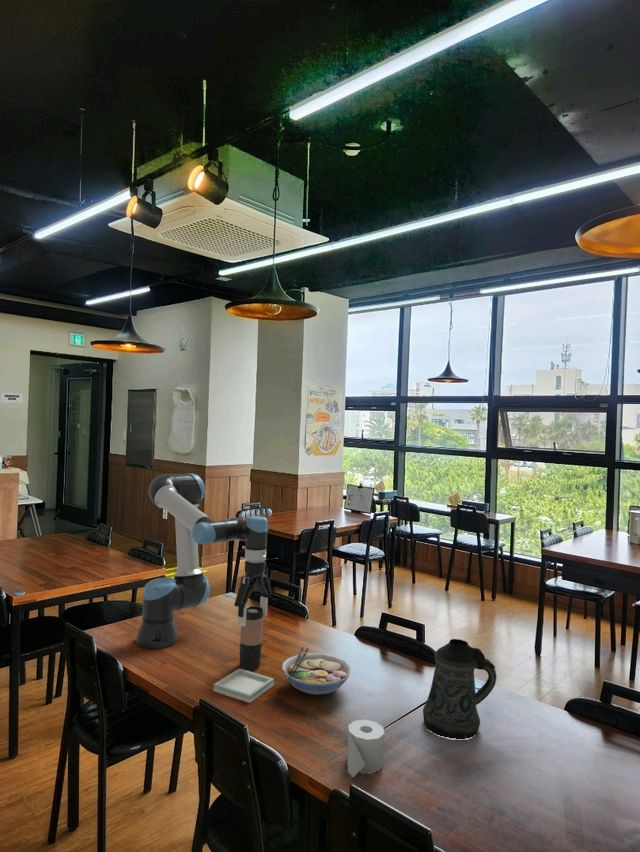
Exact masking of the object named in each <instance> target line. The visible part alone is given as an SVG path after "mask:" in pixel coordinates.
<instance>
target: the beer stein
mask: <svg viewBox="0 0 640 852" xmlns="http://www.w3.org/2000/svg"><path fill="white" fill-rule="evenodd" d="M434 660H435V668H434V672H433V676H432V682H431V685H430V690H429V693H428V696H427V700H426V702H425V703H424V706H423V709H422V714H423V715H422V716H423V724H424V726H426V727H425V729H426V728H427V729H428V730H430V731H432V732H433V733H435V734H437V735H440V736H444V737H449V738H456V739H465V738H470V737H473V736H474V735H476V734H477V735H478V733H479V729H480V726H481V719H480V716H479V713H478V708H477V705H479V704H480V703H482V702H483V701H484V700H485V699H486V698H487V697H488V696H489V695H490V694H491V693H492V691H493V690H494V688H495V685H496V682H497V672H496V666H495V664H493V662H491V660H489V659H488V658H486V657H485V654H484V652H483V651H482V649H480V648H477V647H472V646H471V645H469V642H467V641H466V640H463V639H459V638H452V639H450V640H449V641H448V643H446V644H445V645H442V646H441V647H440V648H438V649H437V650H436V651H435V652H434ZM475 669H476V670H479V671H480V670H482V671H483V670H484V672H486V673H487V675H488V677H487V679H486V681H485V682H484V684H483V685H482V686H481V687H480V688H479V689H478V690H477V691H476V683H475V682H476V681H475ZM427 729H426V730H427ZM428 730H427V731H428ZM430 731H429V732H430ZM477 732H478V733H477ZM433 733H432V734H433Z"/></svg>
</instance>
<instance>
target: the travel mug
mask: <svg viewBox="0 0 640 852" xmlns="http://www.w3.org/2000/svg"><path fill="white" fill-rule="evenodd" d="M263 623H264V615H263V609H262V608H260V606H254V605H251V606H248V607H246V626H245V627H243V626H240V627H241V628H240V642H239V667H240V669H243V670H247V671H253V670H257V669H259V668H260V665H261V655H262V647H263V646H262V642H263V627H264V626H263V625H264V624H263Z"/></svg>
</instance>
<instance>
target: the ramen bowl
mask: <svg viewBox="0 0 640 852" xmlns="http://www.w3.org/2000/svg"><path fill="white" fill-rule="evenodd" d="M308 652H309V648H308V647H306V649H305V650H304V646H303V647H301V648H300V651H299V653H298V654H295V655H294V656H291V657H288V658H287V659H286V660H285V661H283V662H282V666H281V669H282V671H283V674H284V676H285V677H286V679H287V681H289V683H290V684H291V685H292V687H293V688H295V689H297V690H298V691H301V692H303V693H305V694H309V695H314V696H319V695H326V694H327V695H328V694H331V693H333V692H334V691H337V690H339V689H340V688H341V687H342V686H343V684H344V683H346V681H347V680H348V678H349V677H350V675H351V673H352V668H351V665H350V664H349V663H347V661H346V660H344V659H341V658H339V657H337V656H334V655H330V654H325V653H311V652H310V653H308Z"/></svg>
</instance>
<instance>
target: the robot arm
mask: <svg viewBox="0 0 640 852" xmlns="http://www.w3.org/2000/svg"><path fill="white" fill-rule="evenodd" d="M205 492H206V490H205V483H204V481H203V480H202V478H201V477H200V476H199V475H197V474H196V473H164V474H160V475H158V476H156V477H155V478H154V479H152V481H151V482H150V484H149V487H148V496H149V499H150V500H151V502H152V503H153V504H154V505H155V506H157V507H158V508H159V509H164V510H165V511H167V512H168V513H169V514H170V515H171V516H173V517H174V519H175V520H174V523H175V542H176V561H177V562H176V565H177V566H176V568H177V570H176V572H175V573H174V574H173V577H169V576H168V577H167V576H166V577H157V578H154V579H151V580H149V581H148V582H147V583H146V584H145V585H144V589H143V594H142V598H143V599H142V601H143V602H142V620H141V625H140V627H139V630H138V633H137V634H136V641H135V642H136V644H137V646H138V647H141V648H144V649H150V650H151V649H154V650H155V649H156V650H157V649H163V648H168V647H171V646H173V645H174V644H176V643H177V641H178V632H177V631H176V624H175V622H174V621H175V620H174V617H175V614H174V613H175V612H177V611H180V610H185V609H190V608H195V607H198V606H201V605H203V604H204V603H206V601H207V600H208V599H209V596H210V592H211V591H210V590H211V584H210V581H209V579H208V577H207V576H206V575H204V572H203V570H201V568H200V563H199V561H200V560H199V559H200V558H199V547H198V546H199V545H210V544H211V545H212V544H217V543H222V542H224V543H225V542H229V541H230V542H231V541H237V540H239V541H242V542H245V548H244V549H245V550H244V552H245V553H244V560H245V561H244V572H245V573H246V577H244V576H242V577H240V584H239V588H238V591H237V594H236V598H235V601H234V605H233V606H234V607H237V608H238V609H237V611H238V612H237V618H238V619H237V626H240V627H241V626H243V627H245V626H246V609H247V607H246V606H247V602H248V600H249V598H250V595H251V593H252V592H253V591H254V589H255V588H258V590H259V592H260V595H261V596H260V597H259V598H260V599H259V607H260V608H262V609H263V617H264V616H265V617H266V616H268V602H269V601H268V600H269V599H268V598H271V596H272V593H273V591H272V587H271V583H270V579H269V571H268V570H267V569H266V566H267V562H266V560H267V548H268V545H267V544H268V531H269V528H268V525H269V524H268V518H267V517H265V516H262V515H261V516H260V515H252V516H251V515H250V516H248V517H247V519H243V518H239V517H229V518H227V519H225V520H223V519H222V520H214V519H212V518H210V517H209V516H208V515H207V514H206V513H204V512H202V510H200V509H198V507H200V501H201V500H203V499H204V495H205V494H206V493H205Z"/></svg>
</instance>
